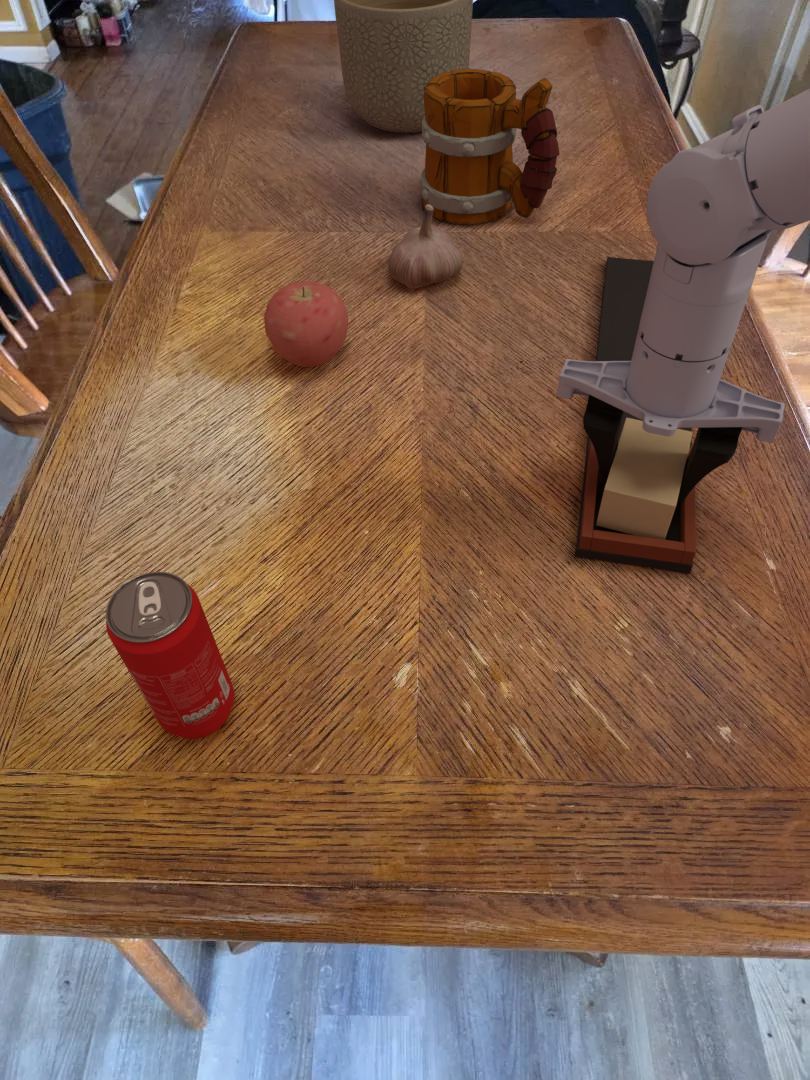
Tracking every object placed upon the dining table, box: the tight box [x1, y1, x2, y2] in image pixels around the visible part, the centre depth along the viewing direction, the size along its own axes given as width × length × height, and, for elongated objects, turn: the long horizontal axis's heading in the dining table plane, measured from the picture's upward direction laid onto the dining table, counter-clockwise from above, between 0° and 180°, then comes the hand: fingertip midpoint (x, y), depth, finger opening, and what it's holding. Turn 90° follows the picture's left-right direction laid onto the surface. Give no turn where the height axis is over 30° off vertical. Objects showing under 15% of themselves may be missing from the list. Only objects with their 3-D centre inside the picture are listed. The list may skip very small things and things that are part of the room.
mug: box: [419, 68, 560, 226], centre depth 88 cm, size 11×16×15 cm, turn 56°
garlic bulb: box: [387, 204, 464, 289], centre depth 82 cm, size 8×7×8 cm
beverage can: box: [105, 571, 235, 740], centre depth 49 cm, size 5×5×12 cm
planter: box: [333, 0, 474, 134], centre depth 103 cm, size 17×17×15 cm
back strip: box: [574, 256, 697, 574], centre depth 72 cm, size 8×40×2 cm, turn 168°
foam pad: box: [596, 418, 694, 540], centre depth 61 cm, size 5×8×4 cm, turn 159°
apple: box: [263, 280, 349, 368], centre depth 74 cm, size 7×7×8 cm
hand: (642, 483), depth 61 cm, fingers closed on foam pad, 5 cm apart
